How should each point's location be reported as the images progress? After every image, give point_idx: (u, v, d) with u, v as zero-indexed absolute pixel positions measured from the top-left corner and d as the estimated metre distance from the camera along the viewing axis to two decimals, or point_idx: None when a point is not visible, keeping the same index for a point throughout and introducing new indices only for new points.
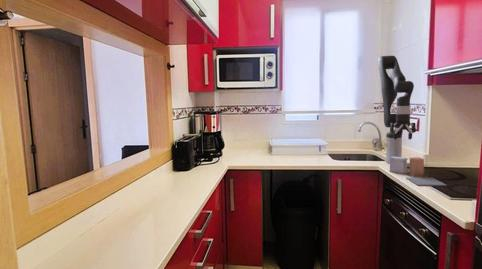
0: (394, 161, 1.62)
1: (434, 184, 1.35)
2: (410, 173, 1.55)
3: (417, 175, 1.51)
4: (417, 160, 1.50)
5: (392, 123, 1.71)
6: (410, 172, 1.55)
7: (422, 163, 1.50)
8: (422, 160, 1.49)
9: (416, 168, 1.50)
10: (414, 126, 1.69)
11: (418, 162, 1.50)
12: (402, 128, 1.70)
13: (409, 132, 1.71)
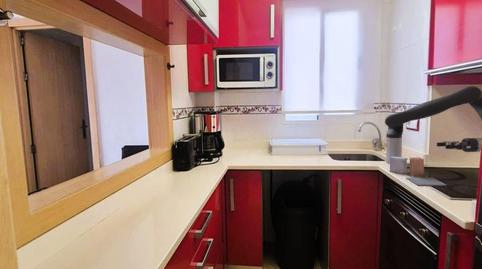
0: (394, 161, 1.62)
1: (434, 184, 1.35)
2: (410, 173, 1.55)
3: (417, 175, 1.51)
4: (417, 160, 1.50)
5: (470, 149, 1.41)
6: (410, 172, 1.55)
7: (422, 163, 1.50)
8: (422, 160, 1.49)
9: (416, 168, 1.50)
10: None
11: (418, 162, 1.50)
12: None
13: (445, 144, 1.53)
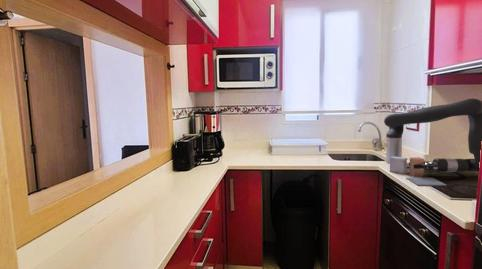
0: (394, 161, 1.62)
1: (434, 184, 1.35)
2: (410, 173, 1.55)
3: (417, 175, 1.51)
4: (417, 160, 1.50)
5: (437, 170, 1.45)
6: (410, 172, 1.55)
7: (422, 163, 1.50)
8: (422, 160, 1.49)
9: None
10: None
11: (418, 162, 1.50)
12: None
13: None
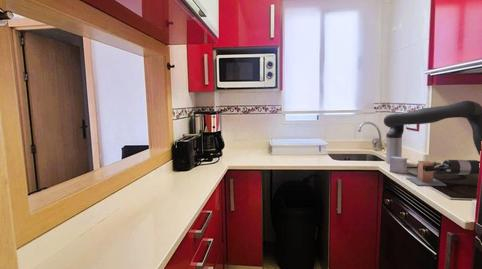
0: (394, 161, 1.62)
1: (434, 184, 1.35)
2: (418, 178, 1.43)
3: (426, 180, 1.39)
4: (426, 164, 1.38)
5: (450, 172, 1.33)
6: (418, 176, 1.43)
7: None
8: (432, 164, 1.38)
9: (425, 173, 1.39)
10: None
11: (427, 166, 1.38)
12: None
13: None
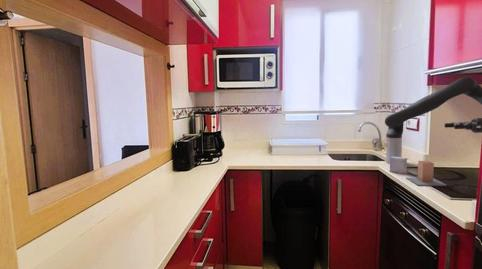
0: (394, 161, 1.62)
1: (434, 184, 1.35)
2: (418, 178, 1.43)
3: (426, 180, 1.39)
4: (426, 164, 1.38)
5: (480, 129, 1.35)
6: (418, 176, 1.43)
7: (432, 167, 1.38)
8: (432, 164, 1.38)
9: (425, 173, 1.39)
10: None
11: (427, 166, 1.38)
12: None
13: (454, 125, 1.46)
